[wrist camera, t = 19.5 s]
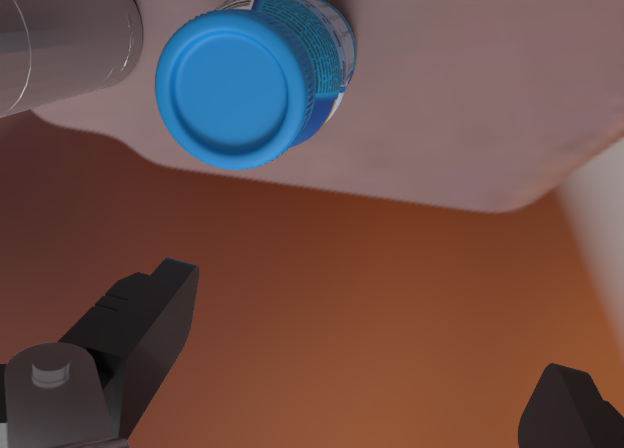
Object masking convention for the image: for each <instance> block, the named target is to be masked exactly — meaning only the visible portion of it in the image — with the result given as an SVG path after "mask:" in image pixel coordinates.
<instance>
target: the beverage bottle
mask: <svg viewBox="0 0 624 448" xmlns="http://www.w3.org/2000/svg"><path fill="white" fill-rule="evenodd" d="M355 64H356V43H355V39H354V35H353V32H352V30H351V28H350V26H349V24H348V22H347V21H346V19H345V18H344V17H343V15H342V14H341V13H340V12H339V11H338V10H337V9H336V8H335V7H333V6H332V5H330V4H329V3H327V2H325V1H323V0H228V1H226V2H225V3H223V4H222V5H220V6H219V7H217V8H216V9H215V10H214V11H210V12H207V14H201V15H200V16H196V17H195V18H194V19H192V20H189V22H187V23H185V24H184V25H183V26H182V27H181V28H179V29H178V30H177V31H176V32H175V33H174V34H173V36H172V37H171V38H170V39H169V41H168V42H167V44H166V45H165V47H164V49H163V51H162V53H161V56H160V58H159V61H158V65H157V69H156V75H155V94H156V101H157V105H158V109H159V112H160V115H161V117H162V120H163V122H164V124H165V126H166V127H167V129H168V131H169V132H170V134H171V135H172V137H173V138H174V139H175V140H176V141H177V143H178V144H179V145H180V146H181V147H182V148H183V149H184V150H186V151H187V152H188V153H189V154H191V155H192V156H194V157H195V158H197V159H199V160H200V161H202V162H204V163H207V164H209V165H212V166H215V167H219V168H223V169H231V170H242V169H249V168H254V167H258V166H261V165H263V164H266V163H267V162H269V161H273V159H274V158H278V156H279V155H280V154H281V155H282V154H283V153H284V152H285V151H287V150H288V148H291V147H294V146H296V145H299V144H301V143H303V142H304V141H306V140H307V139H309V138H310V137H312V136H313V135H314V134H315V133H316V132H317V131H318V130H319V129H320V128H321V127H322V126H323V125H324V124H325V123H326V122H327V121H328V120H329V118H330V117H331V116H332V115H333V113H334V112H335V110H336V109H337V107H338V106H339V104H340V102H341V99H342V97H343V94H344V91H345V88H346V87H347V85H348V84H349V82H350V80H351V78H352V75H353V72H354V69H355Z"/></svg>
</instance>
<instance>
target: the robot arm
mask: <svg viewBox="0 0 624 448" xmlns="http://www.w3.org/2000/svg"><path fill="white" fill-rule="evenodd" d="M141 47H142V24H141V19H140V15H139V12H138V9H137V7H136V4H135V2H134V0H0V117H4V116H8V115H11V114H14V113H18V112H21V111H25V110H28V109H32V108H35V107H39V106H42V105H46V104H49V103H52V102H56V101H59V100H63V99H66V98H70V97H73V96H77V95H80V94H84V93H88V92H91V91H94V90H98V89H101V88H105V87H108V86H111V85H113V84H115V83H117V82H120V81H121V80H122V79H123V78H125V77H126V76H127V75H128V74H129V73H130V72H131V70H132V69H133V68H134V66H135V65H136V63H137V60H138V58H139V56H140V52H141ZM198 279H199V267H198V266H196V265H193V264H188V263H185V262H181V261H178V260H174V259H170V258H166V259H165V260H164V261H163V262H162V263H161V264H160V265H159V266H158V267H157V268H156V270H155V271H154V272H153V273H152V274H151V275H146V274H142V273H139V272H137V273H135V274H132V275H130V276H128V277H126V278H123V279H121V280H118V281H117V282H116V283H115V284H114V285H113V286H112V287H111V288H110V289H109V290H108V291H107V292H106V294H105V296H102V297H101V298H100V299H99V300H98V301H97V302H96V304H95V306H94V307H92V308H90V310H89V311H88V312H87V313H86V314H85V315H84V316H83V317H82V318H81V319H80V320H79V321H78V322H77V323H76V324H75V325H74V326H73V327H72V328H71V329H70V330H69V331H68V332H67V333H66V334H65V335H64V336H63V337H62V338H61V339H60V340H59V341H58V342H50V343H42V344H38V345H34V346H31V347H28V348H26V349H24V350H22V351H20V352H18V353H17V354H16V355H15V356H13V357H12V358H11V359H10V360H9V362H8V363H7V364H0V448H130V447H129V444H128V442H127V440H128V438H129V436H130V435H131V433H132V431H133V430H134V428H135V426H136V425H137V423H138V422H139V420H140V418H141V417H142V415H143V413H144V412H145V410H146V408H147V407H148V405H149V404H150V402H151V400H152V398H153V397H154V395H155V394H156V392H157V390H158V389H159V387H160V385H161V384H162V382H163V381H164V379H165V377H166V376H167V374H168V372H169V371H170V369H171V367H172V366H173V364H174V363H175V361H176V359H177V358H178V356H179V354H180V353H181V351H182V349H183V347H184V345H185V343H186V340H187V338H188V335H189V331H190V327H191V323H192V317H193V310H194V305H195V298H196V292H197V286H198ZM518 444H519V448H624V417H623V416H622V415H621V414H620V413H618V411H617V410H616V409H615V408H614V407H613V406H612V405H611V404H610V403H609V402H607V401H604V400H603V399H602V397H601V395H600V393H599V391H598V389H597V387H596V386H595V384H594V382H593V380H592V378H591V376H590V375H589V374H588V373H587V372H583V371H580V370H576V369H573V368H569V367H565V366H562V365H558V364H554V363H551V364H549V365H548V366H547V367H546V368H545V370H544V372H543V373H542V375H541V377H540V379H539V381H538V383H537V385H536V388H535V390H534V392H533V394H532V396H531V398H530V400H529V402H528V404H527V406H526V408H525V410H524V412H523V414H522V416H521V419H520V423H519V427H518Z"/></svg>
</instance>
